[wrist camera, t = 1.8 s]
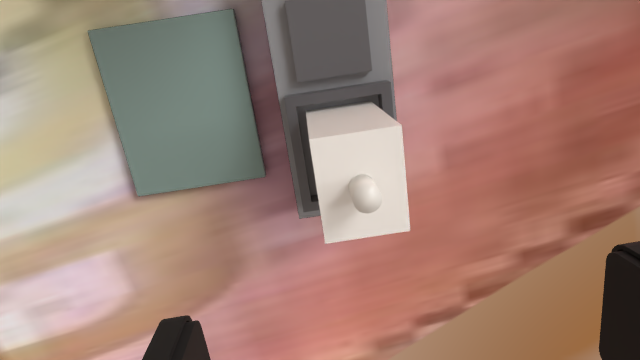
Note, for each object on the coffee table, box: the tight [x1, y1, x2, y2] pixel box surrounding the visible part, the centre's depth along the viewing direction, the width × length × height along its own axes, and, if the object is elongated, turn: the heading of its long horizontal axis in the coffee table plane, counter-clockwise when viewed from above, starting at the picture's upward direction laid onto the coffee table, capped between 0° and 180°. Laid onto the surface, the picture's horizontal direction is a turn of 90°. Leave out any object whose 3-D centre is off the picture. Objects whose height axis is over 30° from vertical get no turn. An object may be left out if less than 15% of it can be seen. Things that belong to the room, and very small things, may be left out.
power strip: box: [261, 0, 397, 219], centre depth 26 cm, size 7×16×4 cm, turn 8°
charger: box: [306, 101, 410, 244], centre depth 21 cm, size 4×5×10 cm
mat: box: [88, 9, 266, 196], centre depth 27 cm, size 9×11×1 cm
